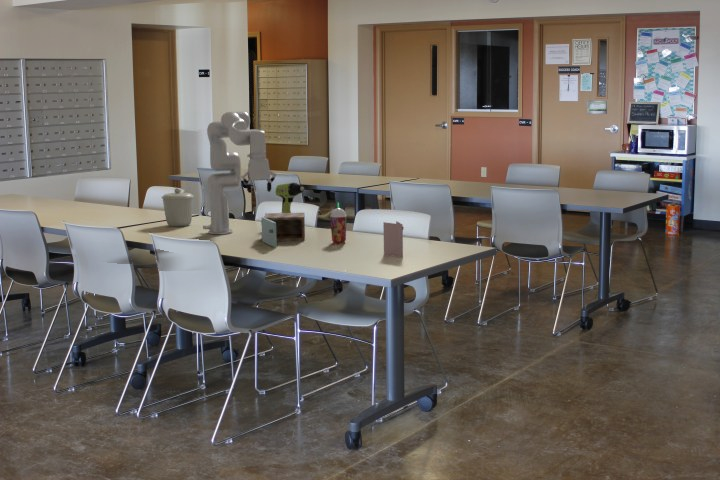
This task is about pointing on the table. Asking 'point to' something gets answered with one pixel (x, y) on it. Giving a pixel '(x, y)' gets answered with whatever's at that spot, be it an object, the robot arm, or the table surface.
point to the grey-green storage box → (269, 232)
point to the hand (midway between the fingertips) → (259, 192)
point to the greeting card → (393, 239)
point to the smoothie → (338, 225)
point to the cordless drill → (288, 194)
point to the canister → (178, 208)
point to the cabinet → (288, 226)
